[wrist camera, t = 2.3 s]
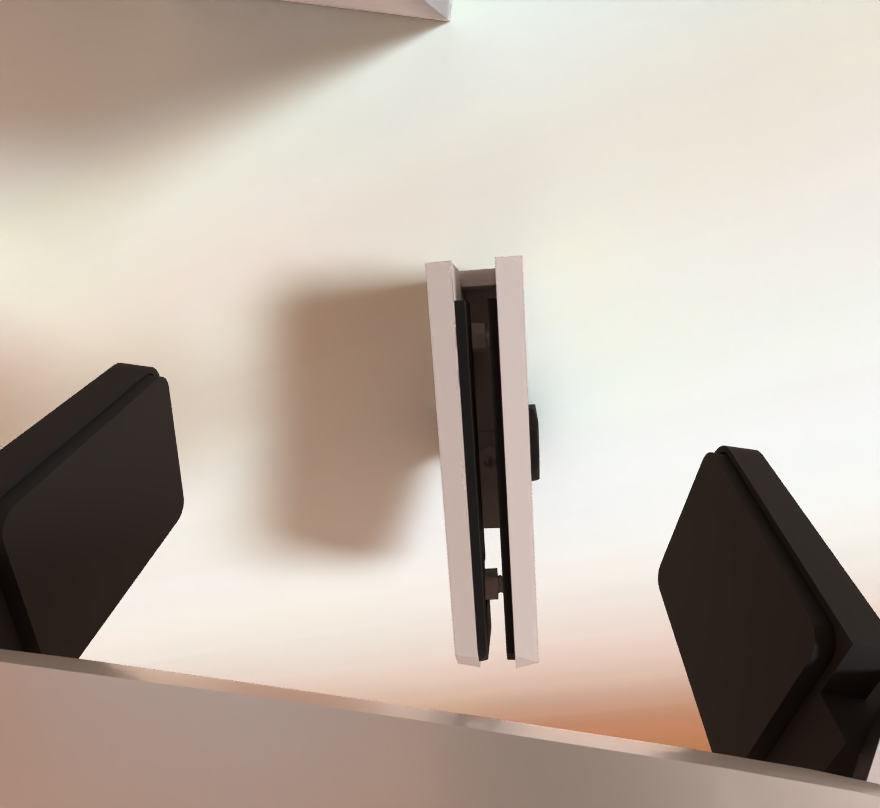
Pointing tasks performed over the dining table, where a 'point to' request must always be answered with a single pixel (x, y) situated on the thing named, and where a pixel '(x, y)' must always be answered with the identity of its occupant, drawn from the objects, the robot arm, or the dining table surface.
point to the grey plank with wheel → (485, 451)
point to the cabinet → (393, 7)
